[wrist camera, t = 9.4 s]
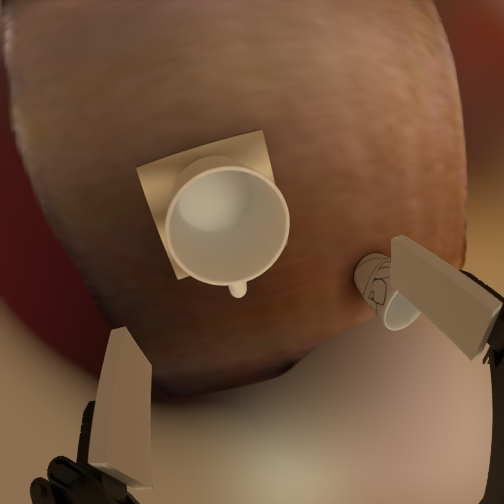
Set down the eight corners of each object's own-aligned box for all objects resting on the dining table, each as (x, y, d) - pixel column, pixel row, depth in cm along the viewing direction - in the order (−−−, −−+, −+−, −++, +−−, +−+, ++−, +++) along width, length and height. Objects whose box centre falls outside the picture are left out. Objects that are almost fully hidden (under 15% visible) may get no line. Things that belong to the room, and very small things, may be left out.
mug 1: (263, 256, 31) (296, 310, 22) (190, 273, 30) (195, 335, 21) (248, 148, 26) (283, 156, 17) (164, 164, 25) (151, 182, 15)
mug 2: (407, 248, 41) (449, 275, 32) (392, 292, 44) (427, 324, 35) (355, 243, 38) (399, 276, 29) (340, 294, 41) (375, 334, 32)
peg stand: (137, 167, 27) (131, 171, 24) (260, 130, 28) (269, 129, 25) (178, 275, 33) (177, 290, 30) (285, 241, 35) (294, 252, 32)
